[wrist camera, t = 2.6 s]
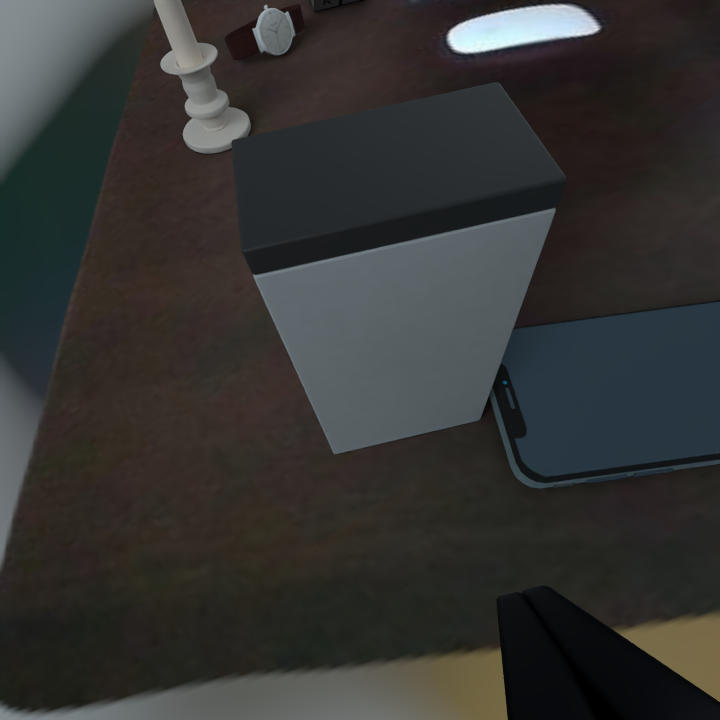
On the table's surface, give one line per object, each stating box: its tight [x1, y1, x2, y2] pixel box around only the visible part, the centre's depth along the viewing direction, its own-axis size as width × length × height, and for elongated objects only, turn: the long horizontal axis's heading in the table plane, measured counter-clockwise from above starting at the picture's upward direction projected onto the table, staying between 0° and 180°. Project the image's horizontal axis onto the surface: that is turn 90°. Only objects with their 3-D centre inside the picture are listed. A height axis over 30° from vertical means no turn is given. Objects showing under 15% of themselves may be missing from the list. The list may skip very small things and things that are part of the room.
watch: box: [225, 4, 305, 60], centre depth 39 cm, size 8×5×4 cm, turn 131°
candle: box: [154, 0, 251, 153], centre depth 30 cm, size 5×5×10 cm
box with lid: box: [231, 83, 566, 454], centre depth 16 cm, size 4×7×13 cm, turn 102°
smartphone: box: [489, 300, 720, 488], centre depth 20 cm, size 8×2×15 cm
